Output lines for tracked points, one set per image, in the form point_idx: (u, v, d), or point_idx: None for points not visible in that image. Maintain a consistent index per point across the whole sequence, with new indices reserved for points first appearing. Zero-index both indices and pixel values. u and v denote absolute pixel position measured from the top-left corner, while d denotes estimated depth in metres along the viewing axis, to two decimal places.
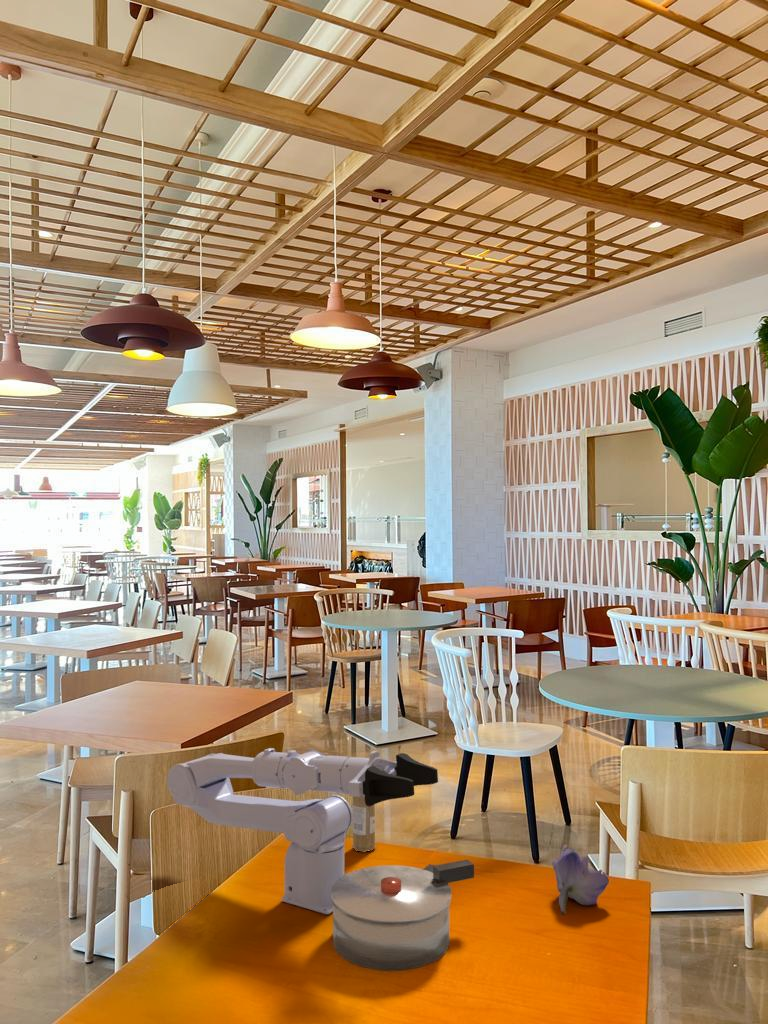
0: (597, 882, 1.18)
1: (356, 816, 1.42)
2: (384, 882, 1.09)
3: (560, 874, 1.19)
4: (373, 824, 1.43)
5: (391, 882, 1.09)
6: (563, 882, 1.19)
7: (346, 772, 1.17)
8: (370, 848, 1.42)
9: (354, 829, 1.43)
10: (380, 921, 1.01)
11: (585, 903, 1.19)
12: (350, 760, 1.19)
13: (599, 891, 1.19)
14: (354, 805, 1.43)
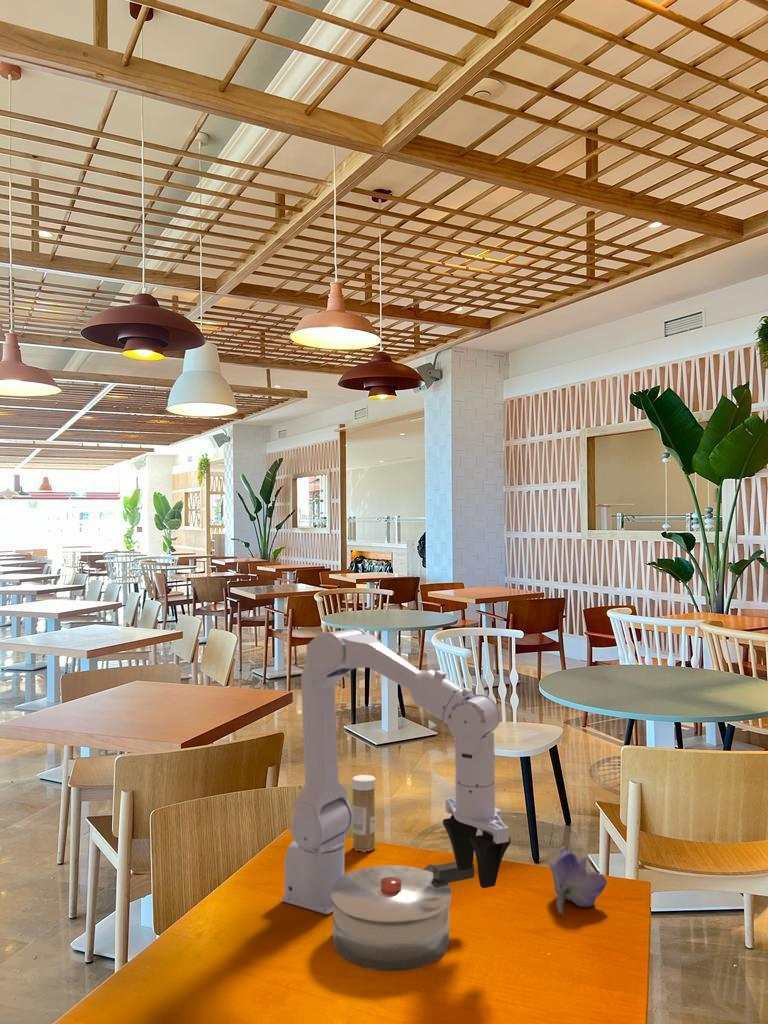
0: (595, 884, 1.18)
1: (356, 816, 1.42)
2: (384, 882, 1.09)
3: (558, 876, 1.19)
4: (373, 824, 1.43)
5: (391, 882, 1.09)
6: (561, 884, 1.18)
7: (491, 792, 1.07)
8: (370, 848, 1.42)
9: (354, 829, 1.43)
10: (380, 921, 1.01)
11: (583, 905, 1.18)
12: None
13: (597, 893, 1.18)
14: (354, 805, 1.43)
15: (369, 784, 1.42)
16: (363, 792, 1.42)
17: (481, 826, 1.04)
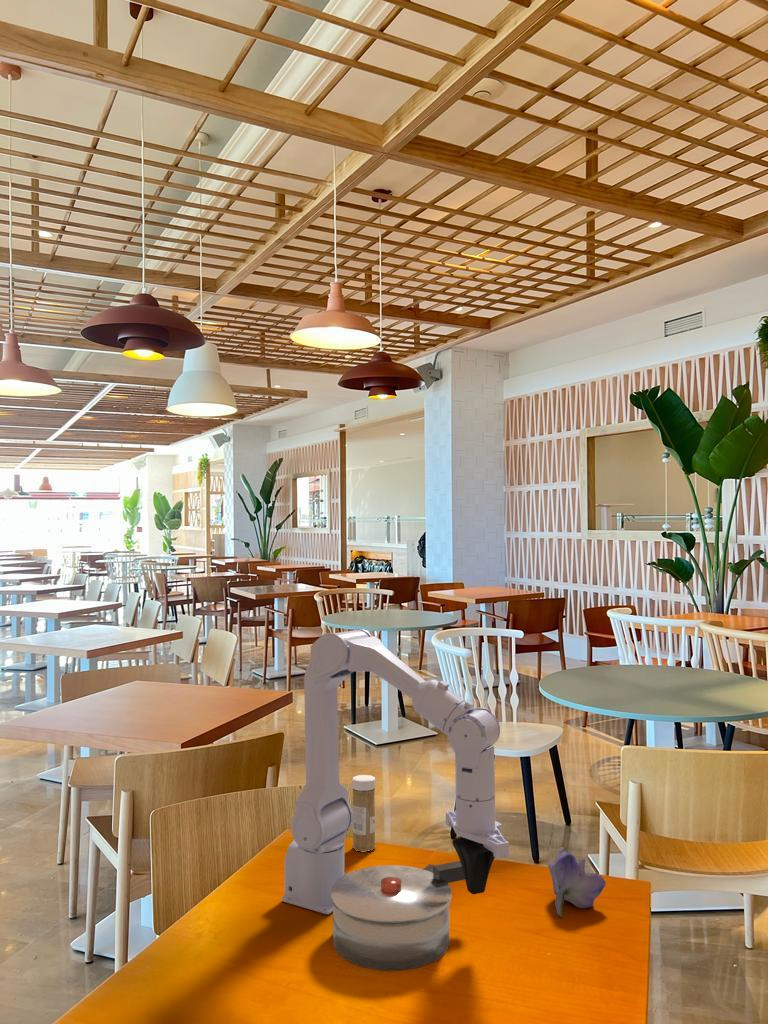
0: (594, 885, 1.17)
1: (356, 816, 1.42)
2: (384, 882, 1.09)
3: (556, 877, 1.18)
4: (373, 824, 1.43)
5: (391, 882, 1.09)
6: (559, 885, 1.17)
7: (491, 806, 1.07)
8: (370, 848, 1.42)
9: (354, 829, 1.43)
10: (380, 921, 1.01)
11: (581, 906, 1.18)
12: None
13: (596, 894, 1.18)
14: (354, 805, 1.43)
15: (369, 784, 1.42)
16: (363, 792, 1.42)
17: (481, 841, 1.04)
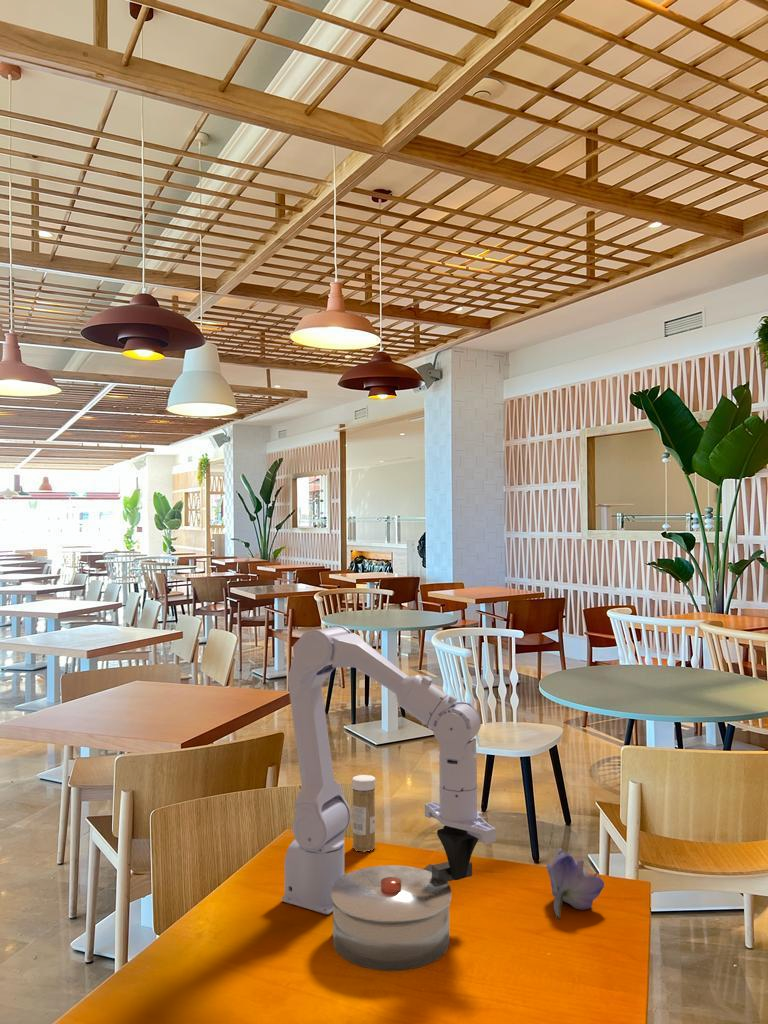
0: (592, 886, 1.17)
1: (356, 816, 1.42)
2: (384, 882, 1.09)
3: (555, 878, 1.18)
4: (373, 824, 1.43)
5: (391, 882, 1.09)
6: (558, 886, 1.17)
7: (475, 795, 1.12)
8: (370, 848, 1.42)
9: (354, 829, 1.43)
10: (383, 921, 1.01)
11: (580, 907, 1.17)
12: None
13: (594, 895, 1.17)
14: (354, 805, 1.43)
15: (369, 784, 1.42)
16: (363, 792, 1.42)
17: (469, 828, 1.09)
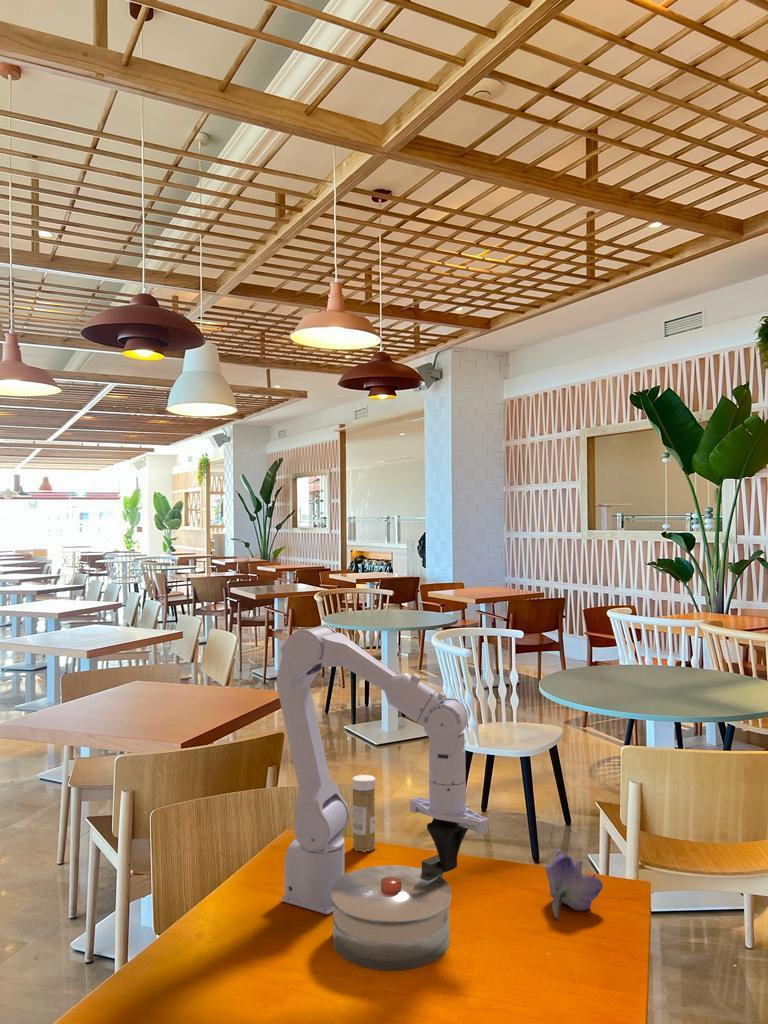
0: (591, 887, 1.16)
1: (356, 816, 1.42)
2: (385, 883, 1.09)
3: (553, 879, 1.17)
4: (373, 824, 1.43)
5: (392, 882, 1.09)
6: (557, 887, 1.17)
7: (464, 788, 1.15)
8: (370, 848, 1.42)
9: (354, 829, 1.43)
10: (402, 921, 1.01)
11: (579, 908, 1.17)
12: None
13: (593, 896, 1.17)
14: (354, 805, 1.43)
15: (369, 784, 1.42)
16: (363, 792, 1.42)
17: (462, 820, 1.12)
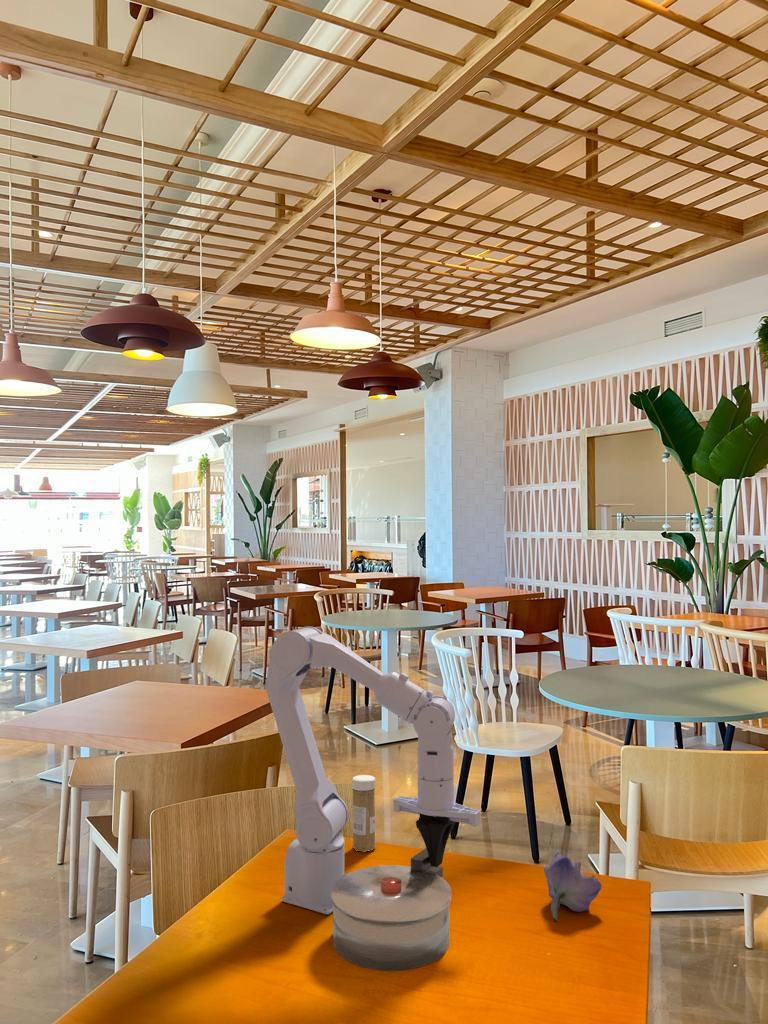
0: (590, 888, 1.16)
1: (356, 816, 1.42)
2: (387, 884, 1.09)
3: (552, 880, 1.17)
4: (373, 824, 1.43)
5: (392, 882, 1.09)
6: (555, 888, 1.16)
7: (453, 783, 1.18)
8: (370, 848, 1.42)
9: (354, 829, 1.43)
10: (417, 919, 1.01)
11: (577, 909, 1.16)
12: None
13: (592, 897, 1.17)
14: (354, 805, 1.43)
15: (369, 784, 1.42)
16: (363, 792, 1.42)
17: (456, 814, 1.14)
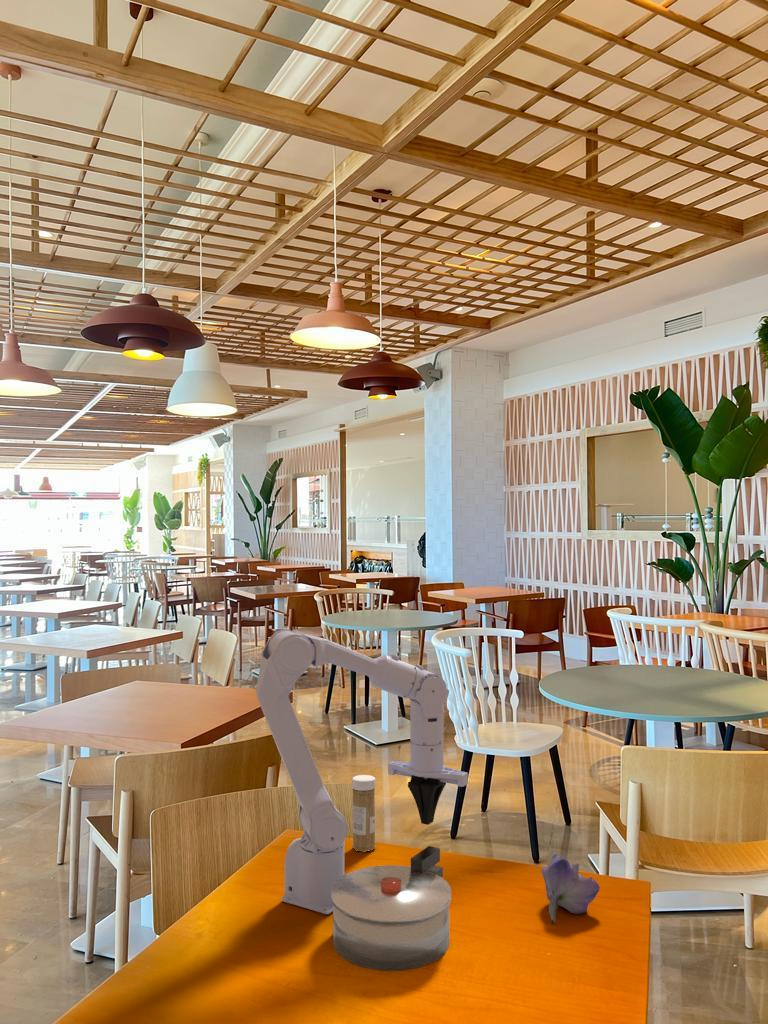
0: (588, 890, 1.15)
1: (356, 816, 1.42)
2: (387, 884, 1.09)
3: (550, 882, 1.16)
4: (373, 824, 1.43)
5: (392, 882, 1.09)
6: (553, 890, 1.16)
7: None
8: (370, 848, 1.42)
9: (354, 829, 1.43)
10: (417, 919, 1.01)
11: (575, 911, 1.16)
12: None
13: (590, 899, 1.16)
14: (354, 805, 1.43)
15: (369, 784, 1.42)
16: (363, 792, 1.42)
17: (445, 776, 1.25)
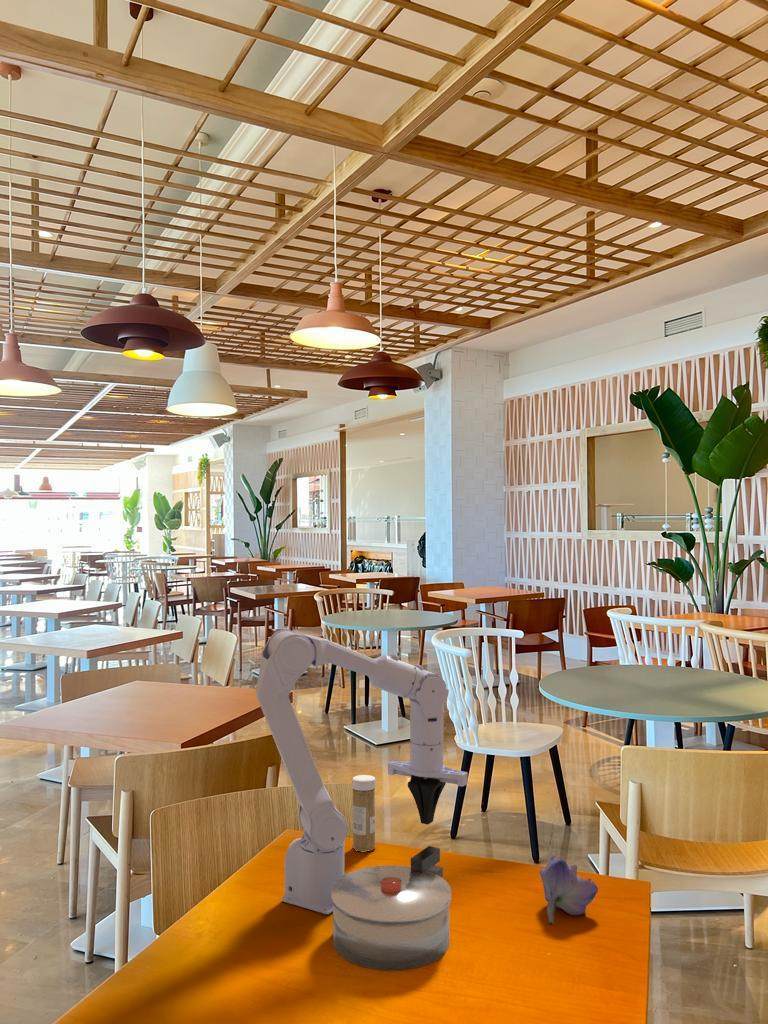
0: (586, 891, 1.15)
1: (356, 816, 1.42)
2: (387, 884, 1.09)
3: (548, 883, 1.16)
4: (373, 824, 1.43)
5: (392, 882, 1.09)
6: (551, 892, 1.15)
7: None
8: (370, 848, 1.42)
9: (354, 829, 1.43)
10: (417, 919, 1.01)
11: (574, 913, 1.15)
12: None
13: (588, 901, 1.16)
14: (354, 805, 1.43)
15: (369, 784, 1.42)
16: (363, 792, 1.42)
17: (445, 776, 1.25)
